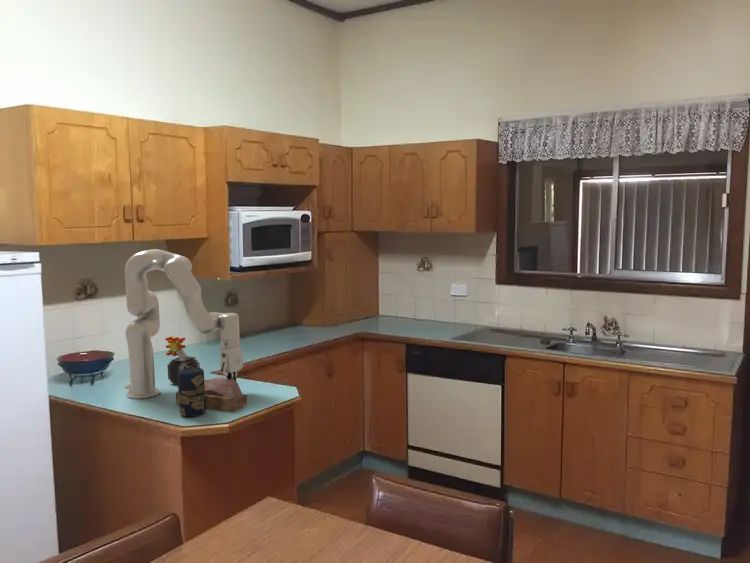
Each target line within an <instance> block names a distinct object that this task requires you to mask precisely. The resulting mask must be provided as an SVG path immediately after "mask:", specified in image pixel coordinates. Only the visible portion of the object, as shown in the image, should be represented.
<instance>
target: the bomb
mask: <svg viewBox="0 0 750 563" xmlns="http://www.w3.org/2000/svg"><path fill="white" fill-rule="evenodd" d="M185 340H186V337H178V336H176V337H173V336H167V337H165V341H167V344H166V345H165V348H166V349H169V350H167V352H166V354H165V355H166V356H167V357H168V356H171V355H172V357H177V356H178V357H177V358H173V359H171V360H170V361H169V363H167V364H166V366H167V380H169V381H170V383H172V386H178V371H180V370H181V369H185V368H187V367H192V368H201V365H200V363H201V362H198V359H196V357H195V356H189V355H187V353H186V352H184V349H185V348H186V345H185V344H183V343H184V341H185Z"/></svg>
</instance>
